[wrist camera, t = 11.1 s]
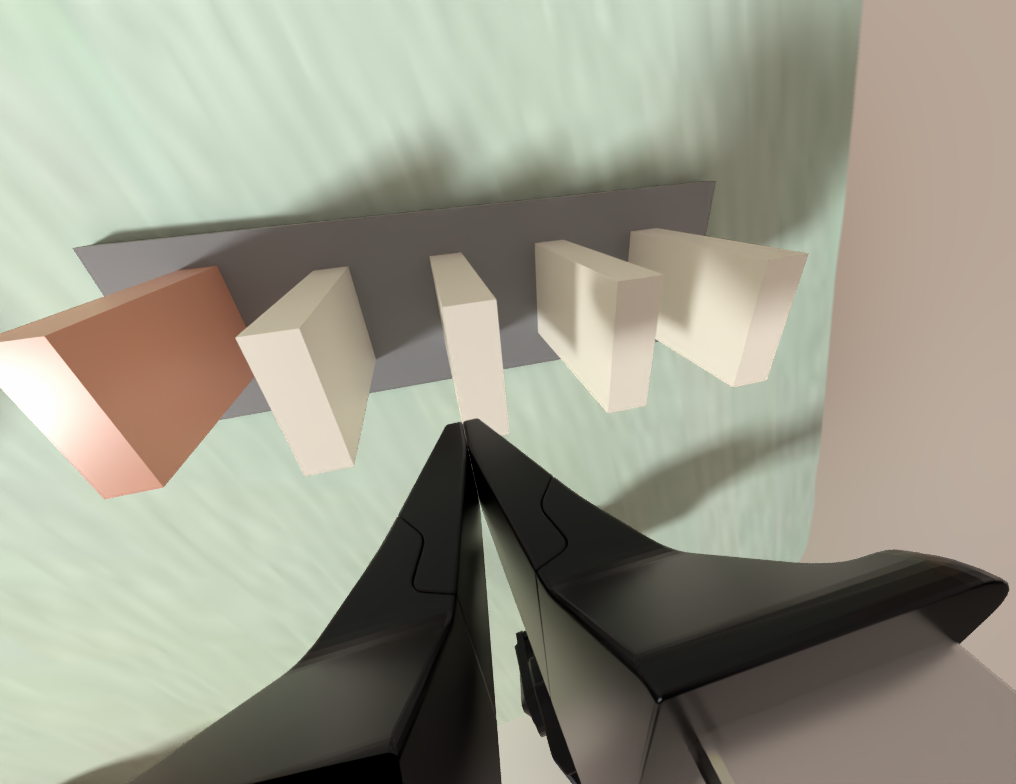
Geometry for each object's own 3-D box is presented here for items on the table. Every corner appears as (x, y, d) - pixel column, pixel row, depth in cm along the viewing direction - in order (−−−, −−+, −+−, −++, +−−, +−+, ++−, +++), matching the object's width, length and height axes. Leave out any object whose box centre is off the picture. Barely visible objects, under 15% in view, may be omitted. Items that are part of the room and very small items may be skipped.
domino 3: (563, 328, 22) (645, 405, 14) (538, 332, 21) (607, 413, 14) (563, 239, 19) (663, 274, 11) (534, 243, 19) (618, 281, 11)
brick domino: (264, 365, 19) (163, 487, 11) (230, 370, 18) (104, 499, 11) (216, 265, 16) (44, 336, 9) (177, 270, 16) (-37, 347, 8)
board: (677, 331, 25) (686, 336, 24) (198, 415, 20) (189, 425, 19) (702, 181, 20) (715, 180, 19) (91, 244, 16) (72, 248, 15)
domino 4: (646, 314, 23) (766, 380, 15) (623, 318, 22) (732, 387, 15) (657, 228, 20) (808, 253, 12) (630, 231, 20) (768, 259, 12)
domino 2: (473, 343, 21) (509, 433, 13) (445, 347, 21) (466, 442, 13) (460, 252, 18) (496, 299, 11) (429, 256, 18) (442, 307, 10)
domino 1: (376, 359, 20) (354, 466, 12) (345, 364, 20) (304, 476, 12) (348, 266, 17) (299, 328, 10) (313, 270, 17) (235, 337, 10)
